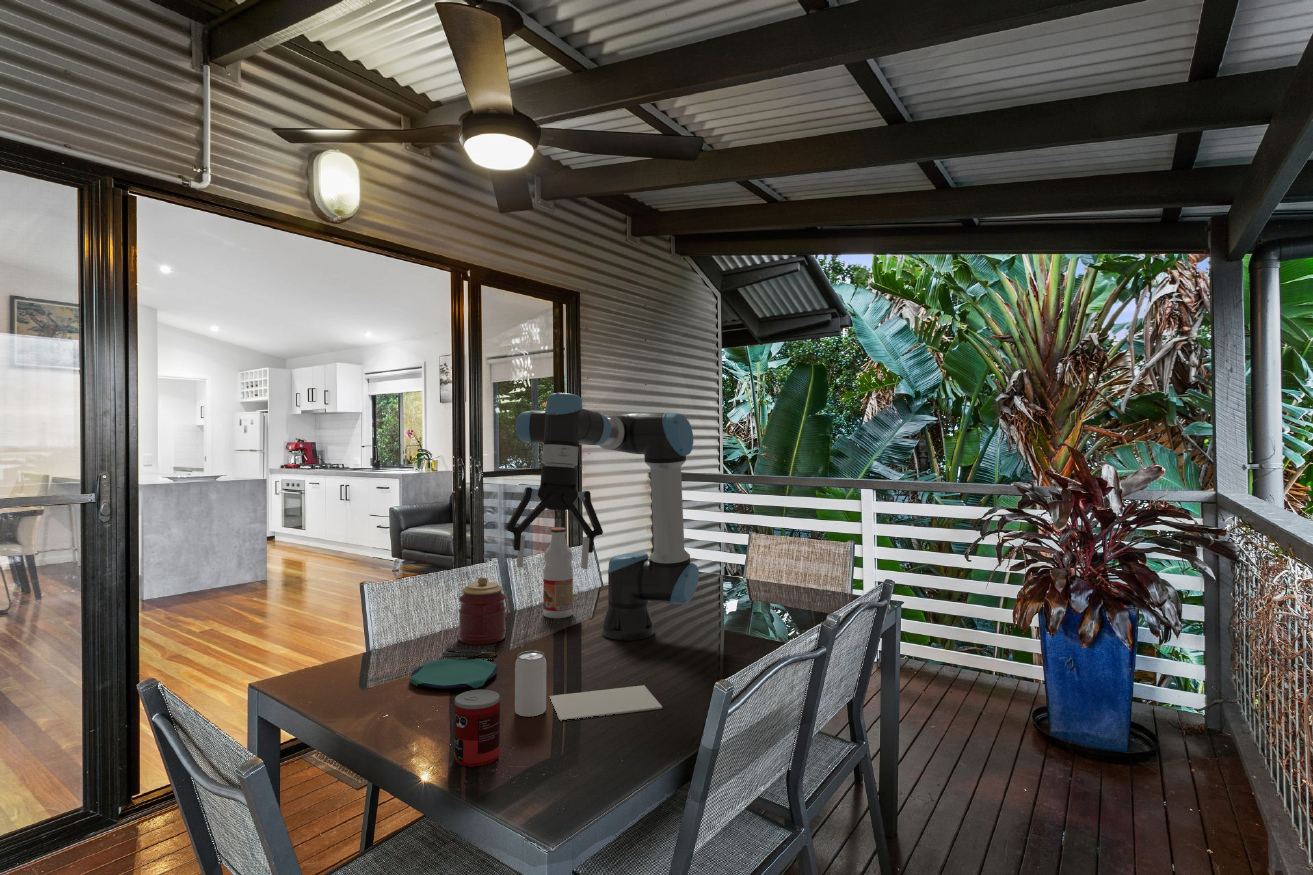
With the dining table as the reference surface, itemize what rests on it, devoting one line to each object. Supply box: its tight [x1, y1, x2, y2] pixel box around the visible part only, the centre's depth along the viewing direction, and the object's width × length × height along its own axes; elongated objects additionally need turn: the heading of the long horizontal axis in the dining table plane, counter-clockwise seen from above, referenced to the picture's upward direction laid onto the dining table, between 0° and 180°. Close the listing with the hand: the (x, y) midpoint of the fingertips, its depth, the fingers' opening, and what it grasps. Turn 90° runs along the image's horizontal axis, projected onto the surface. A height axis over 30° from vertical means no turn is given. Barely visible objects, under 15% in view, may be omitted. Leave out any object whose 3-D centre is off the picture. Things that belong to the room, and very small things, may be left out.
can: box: [514, 650, 547, 717], centre depth 144 cm, size 6×6×12 cm
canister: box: [458, 576, 507, 646], centre depth 194 cm, size 13×13×18 cm
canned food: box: [453, 689, 501, 768], centre depth 123 cm, size 8×8×11 cm
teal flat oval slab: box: [409, 647, 499, 690], centre depth 168 cm, size 20×30×2 cm, turn 0°
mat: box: [548, 684, 663, 722], centre depth 149 cm, size 13×22×1 cm, turn 108°
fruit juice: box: [542, 526, 574, 619], centre depth 220 cm, size 9×9×28 cm
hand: (552, 567), depth 143 cm, fingers open, 13 cm apart
